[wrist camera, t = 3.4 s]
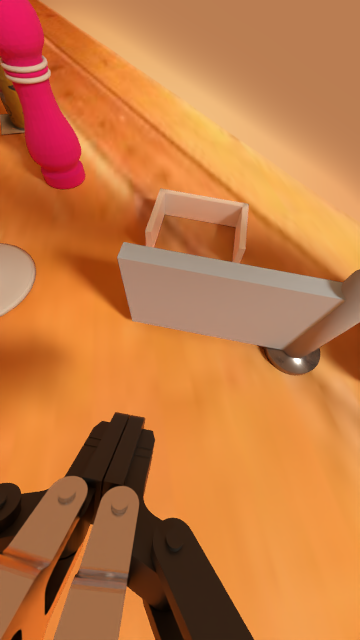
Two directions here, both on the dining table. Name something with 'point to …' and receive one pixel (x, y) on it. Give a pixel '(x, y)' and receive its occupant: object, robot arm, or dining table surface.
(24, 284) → the chalice
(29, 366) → the dining table surface
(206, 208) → the pocket
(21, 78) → the pepper mill
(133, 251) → the paddle
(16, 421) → the dining table surface
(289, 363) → the lever base
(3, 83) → the condiment
